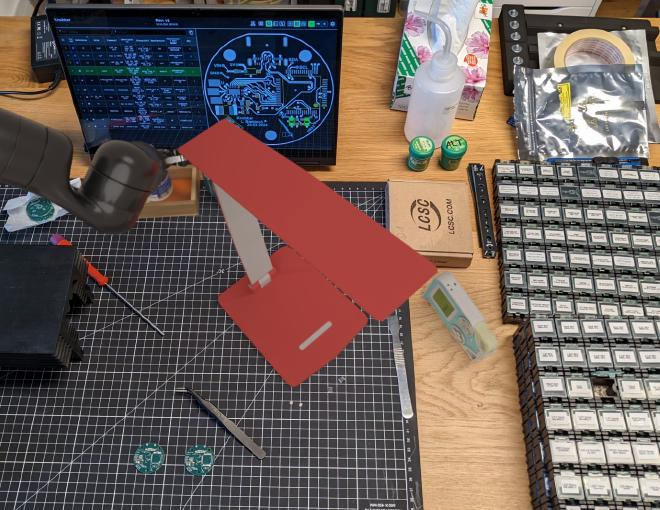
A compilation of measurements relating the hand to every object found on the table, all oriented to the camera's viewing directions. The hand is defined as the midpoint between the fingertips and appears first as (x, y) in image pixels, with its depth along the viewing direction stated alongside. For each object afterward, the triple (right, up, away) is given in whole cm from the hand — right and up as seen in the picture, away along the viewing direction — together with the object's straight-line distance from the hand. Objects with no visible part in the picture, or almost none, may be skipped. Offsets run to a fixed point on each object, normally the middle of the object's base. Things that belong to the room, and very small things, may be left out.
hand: (147, 159), depth 102 cm
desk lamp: (+25, -28, +6) cm, 38 cm away
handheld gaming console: (+51, -29, +5) cm, 59 cm away
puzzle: (+10, -3, +19) cm, 22 cm away
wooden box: (-4, -5, +18) cm, 19 cm away
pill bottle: (0, -5, +4) cm, 6 cm away
